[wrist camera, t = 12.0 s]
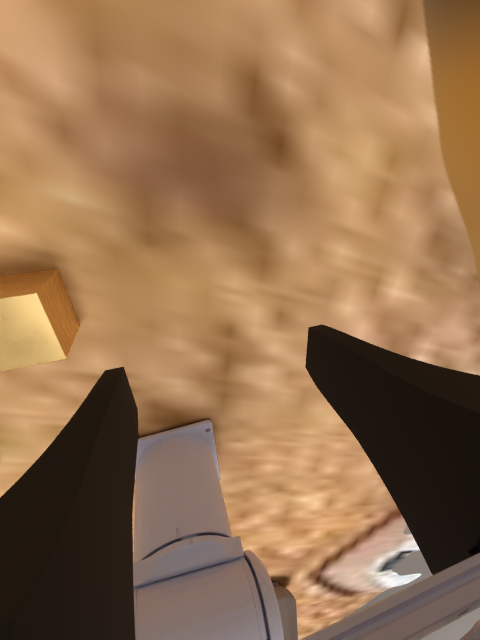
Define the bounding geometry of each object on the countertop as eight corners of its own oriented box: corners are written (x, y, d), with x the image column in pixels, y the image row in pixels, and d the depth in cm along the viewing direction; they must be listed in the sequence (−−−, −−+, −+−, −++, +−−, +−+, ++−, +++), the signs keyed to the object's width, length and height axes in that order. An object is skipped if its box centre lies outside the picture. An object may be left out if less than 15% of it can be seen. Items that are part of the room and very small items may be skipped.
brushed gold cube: (80, 324, 19) (66, 358, 16) (5, 337, 18) (-28, 377, 15) (58, 268, 17) (36, 293, 14) (-28, 279, 16) (-74, 309, 13)
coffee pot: (254, 612, 55) (287, 745, 42) (216, 609, 49) (241, 764, 36) (339, 549, 52) (401, 671, 40) (310, 539, 46) (372, 678, 34)
